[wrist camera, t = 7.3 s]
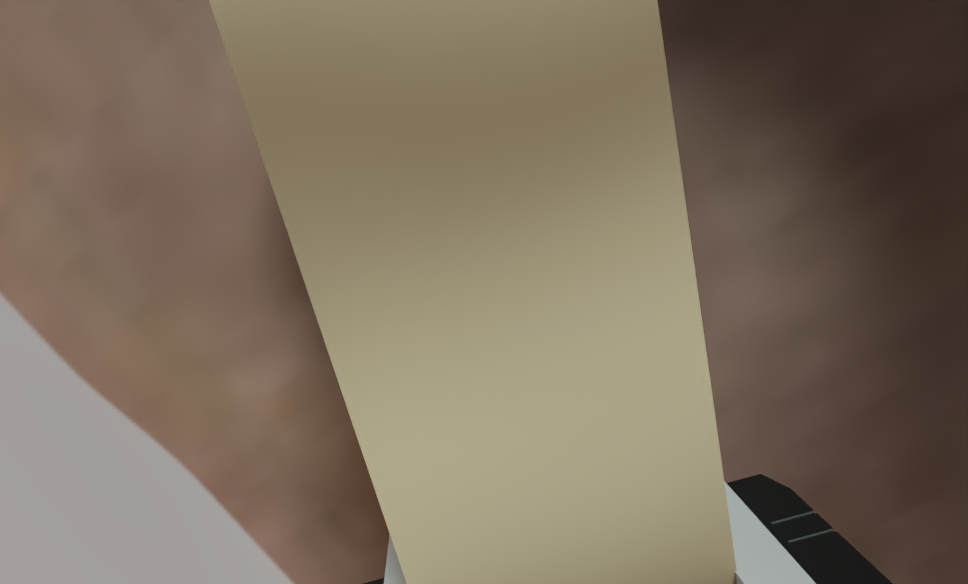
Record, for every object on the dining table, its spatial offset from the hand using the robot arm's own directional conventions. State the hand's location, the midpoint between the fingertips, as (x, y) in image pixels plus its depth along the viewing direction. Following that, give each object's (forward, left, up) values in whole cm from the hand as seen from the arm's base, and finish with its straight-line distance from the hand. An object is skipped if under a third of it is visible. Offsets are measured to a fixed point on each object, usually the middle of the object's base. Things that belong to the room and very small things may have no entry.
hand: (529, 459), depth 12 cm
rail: (0, 0, 0) cm, 0 cm away
